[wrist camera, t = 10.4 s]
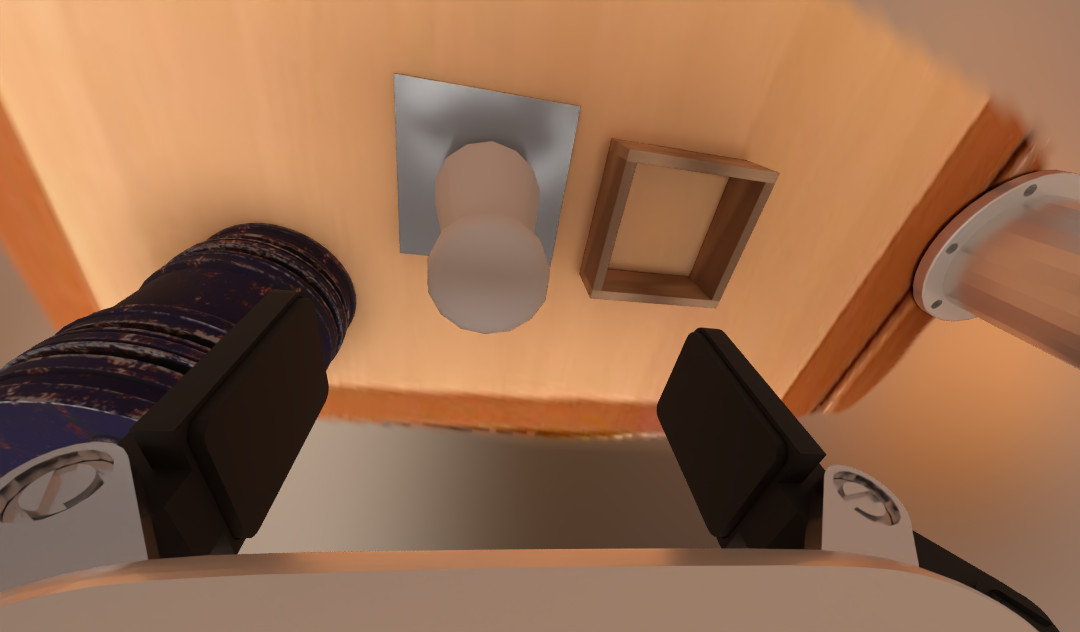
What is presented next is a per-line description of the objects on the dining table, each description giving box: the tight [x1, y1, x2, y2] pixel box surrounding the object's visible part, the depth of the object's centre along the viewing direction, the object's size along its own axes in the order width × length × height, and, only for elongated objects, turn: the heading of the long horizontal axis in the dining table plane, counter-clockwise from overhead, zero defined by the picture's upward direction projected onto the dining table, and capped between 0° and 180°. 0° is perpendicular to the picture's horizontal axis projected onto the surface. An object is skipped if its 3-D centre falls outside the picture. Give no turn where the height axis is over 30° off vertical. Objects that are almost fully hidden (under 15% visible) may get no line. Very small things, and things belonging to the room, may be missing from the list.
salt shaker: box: [428, 141, 550, 334], centre depth 18 cm, size 6×6×13 cm
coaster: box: [394, 73, 581, 267], centre depth 24 cm, size 10×10×1 cm
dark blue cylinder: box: [0, 223, 356, 478], centre depth 20 cm, size 10×10×15 cm
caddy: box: [580, 138, 780, 308], centre depth 25 cm, size 9×9×4 cm
